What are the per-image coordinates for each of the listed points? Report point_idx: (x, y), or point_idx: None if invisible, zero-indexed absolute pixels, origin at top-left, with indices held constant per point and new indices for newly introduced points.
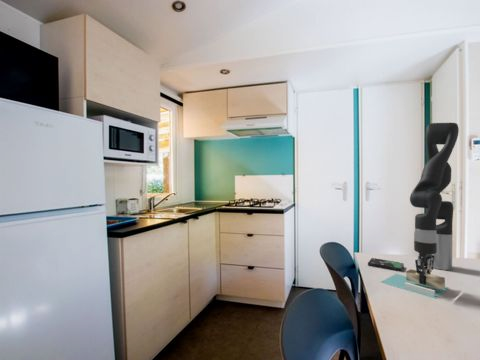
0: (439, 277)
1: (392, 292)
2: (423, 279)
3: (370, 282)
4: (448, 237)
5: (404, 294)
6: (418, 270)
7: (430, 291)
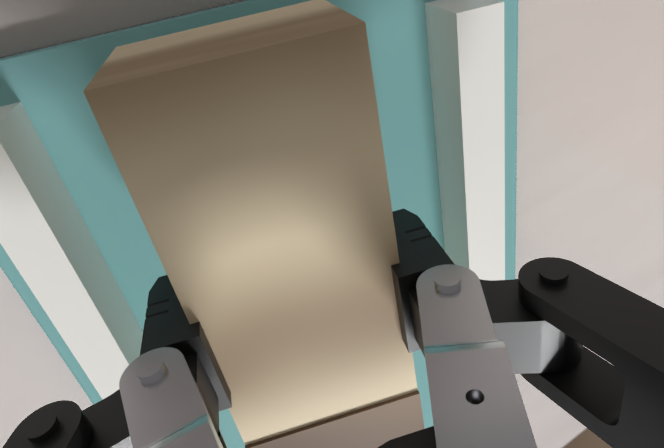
0: (204, 146)
1: (631, 256)
2: (436, 242)
3: (548, 432)
4: None
5: (602, 191)
6: (568, 373)
7: (493, 47)
